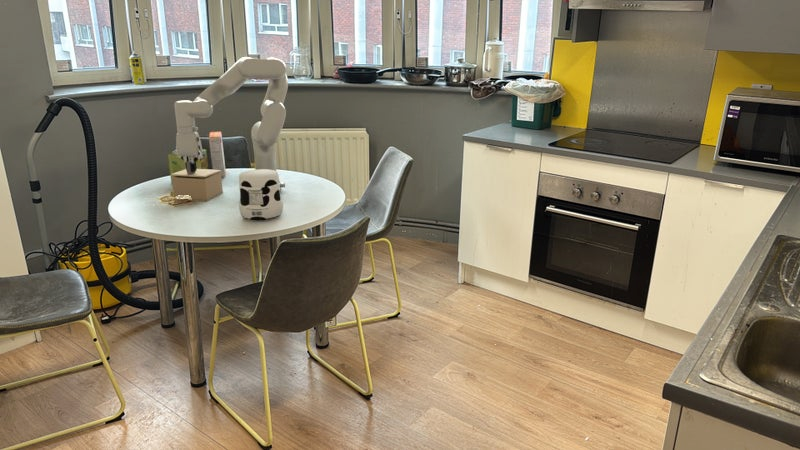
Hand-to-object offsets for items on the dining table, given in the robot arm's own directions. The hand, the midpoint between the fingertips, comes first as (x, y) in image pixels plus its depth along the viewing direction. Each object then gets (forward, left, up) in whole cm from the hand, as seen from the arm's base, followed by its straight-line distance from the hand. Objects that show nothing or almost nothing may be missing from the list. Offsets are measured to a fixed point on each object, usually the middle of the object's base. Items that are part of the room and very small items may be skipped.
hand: (191, 171), depth 267 cm
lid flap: (0, -4, -2) cm, 4 cm away
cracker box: (+10, -41, -13) cm, 44 cm away
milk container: (-41, +18, -13) cm, 47 cm away
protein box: (+16, -24, -13) cm, 31 cm away
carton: (0, -4, -12) cm, 13 cm away
